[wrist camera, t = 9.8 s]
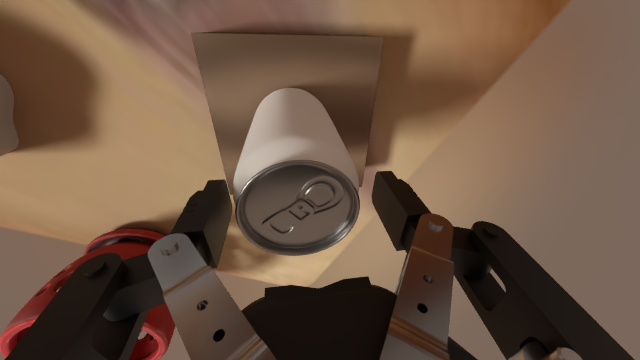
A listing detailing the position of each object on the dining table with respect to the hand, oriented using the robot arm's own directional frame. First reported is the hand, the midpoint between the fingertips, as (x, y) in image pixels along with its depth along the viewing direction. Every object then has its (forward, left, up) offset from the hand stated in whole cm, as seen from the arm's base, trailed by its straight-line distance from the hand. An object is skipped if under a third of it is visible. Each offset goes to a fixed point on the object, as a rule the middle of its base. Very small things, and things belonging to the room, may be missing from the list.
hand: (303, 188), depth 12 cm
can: (0, 0, -10) cm, 10 cm away
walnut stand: (0, 0, -14) cm, 14 cm away
